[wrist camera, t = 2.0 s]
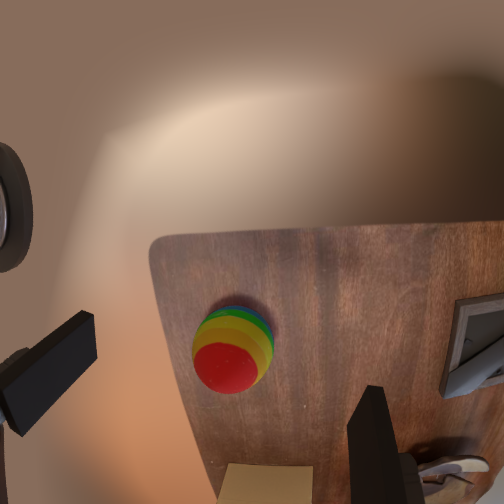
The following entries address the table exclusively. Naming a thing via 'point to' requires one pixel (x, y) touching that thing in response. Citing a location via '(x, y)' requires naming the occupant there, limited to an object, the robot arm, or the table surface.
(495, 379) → the picture frame
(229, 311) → the decorative egg
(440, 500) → the grey frying pan
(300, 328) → the table surface
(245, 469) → the tan cardboard box
